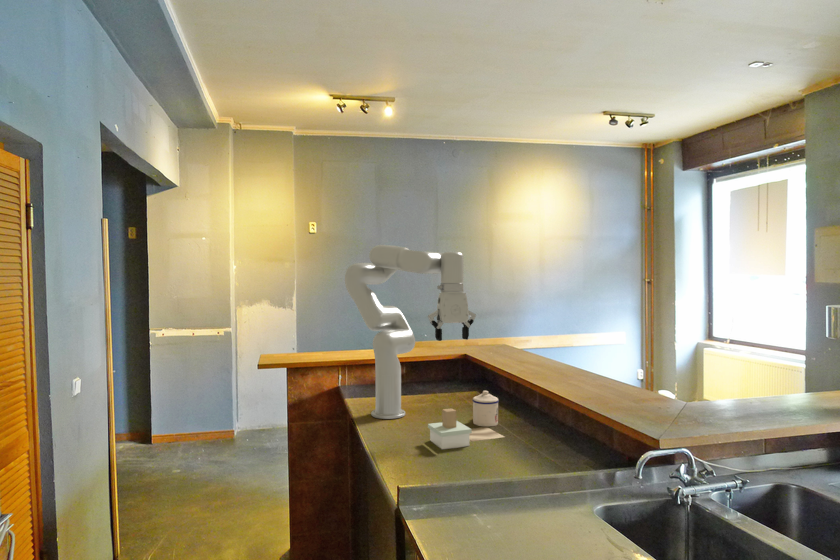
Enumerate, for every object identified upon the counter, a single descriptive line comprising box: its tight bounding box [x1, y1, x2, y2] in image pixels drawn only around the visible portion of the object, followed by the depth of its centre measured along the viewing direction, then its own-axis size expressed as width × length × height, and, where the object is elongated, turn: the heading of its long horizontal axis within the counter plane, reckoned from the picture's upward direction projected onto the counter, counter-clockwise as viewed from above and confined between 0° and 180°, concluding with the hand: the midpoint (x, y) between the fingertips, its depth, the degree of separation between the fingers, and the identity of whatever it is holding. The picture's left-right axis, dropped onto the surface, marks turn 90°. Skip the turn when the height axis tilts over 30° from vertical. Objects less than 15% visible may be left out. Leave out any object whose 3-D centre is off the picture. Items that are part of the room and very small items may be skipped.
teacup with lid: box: [472, 390, 499, 427], centre depth 181 cm, size 12×9×12 cm
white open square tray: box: [429, 429, 470, 450], centre depth 157 cm, size 9×9×4 cm
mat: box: [469, 426, 505, 442], centre depth 166 cm, size 12×12×1 cm
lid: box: [427, 408, 473, 437], centre depth 157 cm, size 10×10×6 cm
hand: (452, 339), depth 173 cm, fingers open, 9 cm apart
